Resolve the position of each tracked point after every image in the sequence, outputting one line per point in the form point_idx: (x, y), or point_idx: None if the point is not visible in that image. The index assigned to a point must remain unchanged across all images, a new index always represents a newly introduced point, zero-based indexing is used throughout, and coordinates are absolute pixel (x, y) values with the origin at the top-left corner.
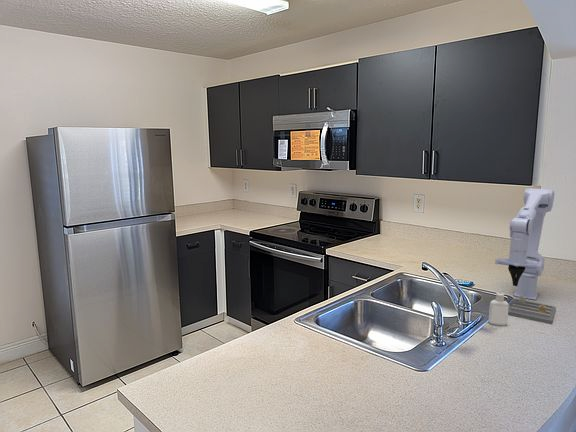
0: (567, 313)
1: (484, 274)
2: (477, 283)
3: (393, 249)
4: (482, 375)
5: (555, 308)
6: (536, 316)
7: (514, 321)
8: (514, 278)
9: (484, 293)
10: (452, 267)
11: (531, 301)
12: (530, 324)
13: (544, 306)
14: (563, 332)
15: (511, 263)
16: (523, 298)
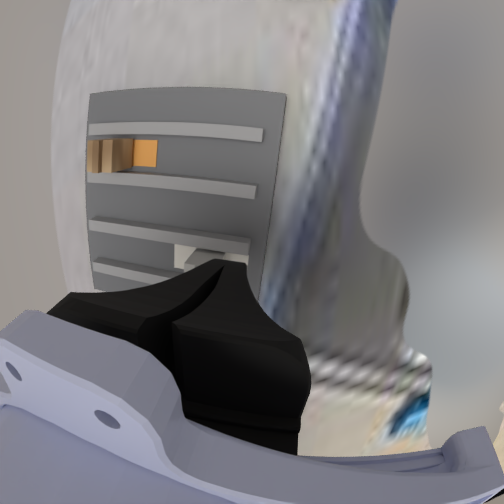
0: (69, 261)
1: None
2: (375, 432)
3: None
4: None
5: (94, 275)
6: (142, 103)
7: (243, 25)
8: (220, 284)
9: (374, 358)
10: None
11: None
12: (175, 33)
13: (92, 164)
14: (76, 44)
15: (232, 466)
16: (195, 262)
